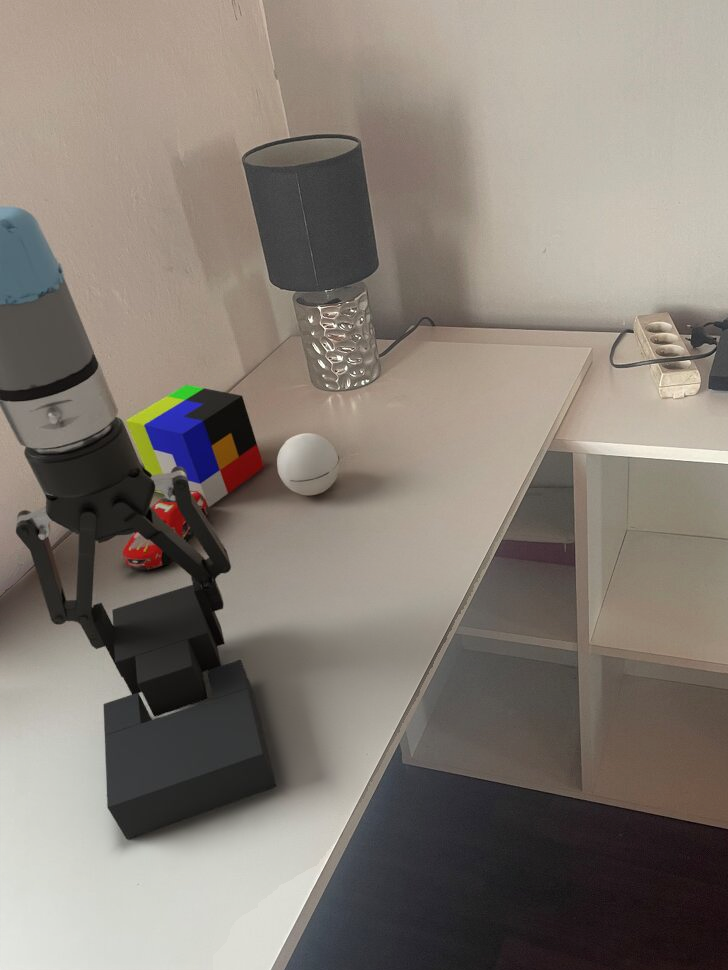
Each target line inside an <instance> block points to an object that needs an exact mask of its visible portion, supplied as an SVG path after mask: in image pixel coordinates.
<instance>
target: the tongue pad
mask: <svg viewBox="0 0 728 970" xmlns="http://www.w3.org/2000/svg"><path fill="white" fill-rule="evenodd" d="M111 612H112V624H113V628H114V650H115V663H116V665H117V667H118V669H119V671H120V673H121V674H122V676H123V677H122V679H123V680H124V682H125V684H126V687H127V688H128V690H129V692H130V693H131V694H130V695H132V694H136V693H139V694H140V693H141V694H142V695H143V698H144V699H145V701H146V703H147V705H148V707H149V709H150V711H151V713H152V715H153V717H154V718H155V717H158V716H161V715H165V714H168V713H170V712H173V711H177V710H179V709H182V708H185V707H188V706H191V705H195V704H196V703H200V702H202V701H206V700H208V693H207V688H206V683H205V677H204V673H203V672H208V670H210V669H213V668H216V667H219V666H222V662H221V658H220V653H219V648H218V647H219V646H217V645H216V643H215V640H214V638H213V636H212V633H211V631H210V628H209V626H208V624H207V621H206V619H205V616H204V615H203V612H202V610H201V607H200V605H199V603H198V600H197V598H196V595H195V593H194V589H193V584H190V585H186V586H184V587H180V588H177V589H173V590H171V591H167V592H164V593H161V594H157V595H155V596H152V597H147V598H144V599H142V600H139V601H138V600H137V601H135V602H132V603H129V604H125V605H123V606H119V607H116V608H113V609H112V611H111ZM116 665H115V666H116ZM117 667H116V668H117ZM118 669H117V670H118ZM119 671H118V672H119ZM120 673H119V674H120Z"/></svg>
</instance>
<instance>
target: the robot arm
mask: <svg viewBox="0 0 728 970" xmlns="http://www.w3.org/2000/svg"><path fill="white" fill-rule="evenodd" d="M64 275H65V274H64V270H63V267H62V264H61V263H60V262H59V261H58V259H57V257H56V256H55V254H54V252H53V250H52V248H51V246H50V245H49V242H48V240H47V238H46V236H45V234H44V231H43V230H42V228H41V226H40V223H39V221H38V220H37V218H35V216H34V215H33V214H32V213H30V212H28V211H27V210H26V209H23V208H21V207H16V206H0V409H1V411H2V413H3V415H4V417H5V419H6V422H7V423H8V425H9V427H10V429H11V431H12V432H13V435H14V437H15V439H16V441H17V442H18V443H19V444H20V446H23V447H25V448H24V451H23V453H24V457H25V459H26V460H27V463H28V464H29V466H30V469H31V471H32V473H33V474H34V477H35V478H36V480H37V483H38V485H39V486H40V488H41V491H42V492H43V494H44V496H45V505H44V506H43V507H40V508H38V509H36V510H34V511H30V510H26V509H24V510H20V511H19V512H18V513H17V517H16V525H15V534H16V535H17V537H18V538H19V539H20V540H21V541H22V543H23V544H24V545H25V547H26V548H27V549H28V550H29V551H30V555H31V558H32V562H33V565H34V568H35V571H36V574H37V578H38V581H39V585H40V587H41V591H42V594H43V597H44V601H45V604H46V607H47V611H48V614H49V618H50V621H51V622H52V623H53V624H54V625H58V626H60V625H65V623H66V622H76V623H78V624H79V625H80V626H81V628H82V630H83V633H84V634H85V636H86V638H87V639H88V642H89V644H90V645H91V647H93V648H94V649H95V650H99V649H101V648H106V651H107V652H108V654H109V656H110V658H111V660H112V662H113V664H114V666H115V667H116V670H117V671H118V673H119V675H120V677H121V678H123V676H122V674H121V673H120V671H119V669H118V667H117V665H116V663H115V650H114V628H113V621H112V620H111V618H110V616H109V615H108V612H107V610H106V609H105V606H104V604H103V603H102V602H99V603H95V604H93V593H94V592H93V591H94V590H93V589H94V573H95V556H96V542H98V544H102V543H104V542H107V541H111V540H112V539H113V538H116V537H117V536H127V535H128V536H129V535H131V534H132V535H133V534H134V533H135V532H138V533H139V534H141V535H142V536H143V537H144V538H145V539H147V540H150V541H152V542H153V543H154V544H155V545H156V546H157V547H159V548H160V549H161V550H162V551H163V552H164V553H166V554H167V555H168V556H169V557H170V558H171V559H172V560H171V561H174V562H175V563H176V564H177V565H178V566H179V568H182V569H183V570H184V571H185V572H186V573H187V574H188V575H189V576H190V577H191V578H190V579H191V582H192V584H191V585H193V589H194V593H195V595H196V598H197V600H198V603H199V605H200V607H201V610H202V612H203V615H204V616H205V619H206V621H207V624H208V626H209V628H210V631H211V633H212V636H213V638H214V640H215V643H216V645H217V647H220V646H222V645H225V644H226V643H225V638H224V634H223V630H222V626H221V623H220V620H219V618H218V616H217V613H216V612H217V611H220V610H223V609H224V600H223V596H222V593H221V591H220V588H219V585H218V582H217V577H218V576H219V575H221V574H227V573H229V572H230V571H231V569H232V566H231V565H232V564H231V561H230V556H229V554H228V551H227V549H226V547H225V545H224V544H223V542H222V541H221V538H220V537H219V536H218V534H217V533H216V531H215V529H214V528H213V526H212V525H211V523H210V521H209V520H208V518H207V517H206V516H207V515H204V513H203V512H202V510H201V508H200V507H199V505H198V504H197V502H196V500H195V499H194V497H193V496H192V494H191V492H190V489H189V483H188V479H187V474H186V471H185V469H184V468H183V467H180V466H177V467H174V468H173V469H172V471H171V473H166V474H158V475H152V474H151V473H150V472H149V471H147V470H146V469H145V467H144V465H143V464H142V463H141V461H140V459H139V456H138V454H137V452H136V450H135V447H134V444H133V443H132V440H131V438H130V435H129V433H128V430H127V428H126V425H125V423H124V421H123V419H121V417H119V416H118V413H119V409H118V406H117V404H116V401H115V399H114V396H113V394H112V392H111V389H110V387H109V384H108V382H107V381H108V380H107V379H106V376H105V374H104V372H103V369H102V366H101V364H100V362H99V361H98V359H97V357H96V355H95V351H94V349H93V346H92V344H91V341H90V338H89V336H88V334H87V331H86V329H85V326H84V324H83V321H82V319H81V316H80V314H79V312H78V309H77V306H76V304H75V302H74V299H73V297H72V295H71V291H70V289H69V287H68V284H67V282H66V279H65V276H64ZM155 491H160V492H162V493H163V494H162V493H161V494H162V495H164V497H166V498H167V499H168V500H170V501H175V500H176V503H177V506H178V509H179V511H180V513H181V514H182V516H183V517H184V519H185V521H186V522H187V524H188V525H189V527H190V528H191V530H192V531H193V533H192V534H193V535H194V537H195V538H196V540H197V541H198V542H199V544H200V546H201V547H202V549H203V550H204V552H205V553H206V555H207V558H205V557H204V556H203V555H202V554H201V553H200V552H198V551H197V550H196V548H194V547H193V546H192V545H190V543H188V542H187V540H186V541H185V540H184V539H183V538H182V537H180V536H179V535H178V534H177V533H176V532H175V531H174V530H173V529H172V528H170V527H169V526H168V525H167V524H166V523H165V522H164V521H163V520H162V519H160V518H159V516H158V515H157V513H156V512H155V511H154V510H153V509H152V508H151V507H152V506H151V504H152V501H153V498H154V495H155ZM52 522H54V523H56V524H58V525H59V526H61V527H63V528H65V529H67V530H68V531H71V532H72V533H75V534H76V535H77V537H78V538H77V539H78V541H77V542H78V543H77V563H76V564H77V567H76V589H75V590H76V593H75V599H67V596H66V593H65V590H64V587H63V584H62V579H61V577H60V573H59V570H58V565H57V562H56V559H55V555H54V552H53V548H52V545H51V541H50V539H49V538H50V535H51V523H52Z"/></svg>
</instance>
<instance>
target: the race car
mask: <svg viewBox="0 0 728 970" xmlns="http://www.w3.org/2000/svg"><path fill="white" fill-rule="evenodd" d="M190 492H191V494H192V496H193V497H194V499H195V500H196V502H197V504H198V505H199V507H200V508H201V510H202V512H203V513H204V515H205V516H208V513H209V511H210V507H208V504H207V502H206V499H205V498H204V497H203V496H202V495H201V493H199V492H197V491H190ZM150 507H151V508H152V509H153V510H154V511H155V512H156V513H157V515H158V516H159V518H160V519H162V520H163V521H164V522H165V523H166V524H167V525H168V526H169V527H170V528H172V529H173V530H174V531H175V532H176V533H177V534H178V535H179V536H180V537H182V538H183V539H184V540H185V541H186V542H187V540H188V539H189V538H190V537H191V535H192V534H194V533H193V531H192V530H191V528H190V527H189V525H188V524H187V522H186V521H185V519H184V517H183V516H182V514H181V513H180V511H179V509H178V506H177V503H176V500H175V501H170V500H168V499H167V498H166V497H165V496H164V497H162V498H161V499H159V500H158V501H156V502H155V503H154V504H153V505H152V506H150ZM122 557H123V560H124V562H125V564H126V566H128V567H129V568H130V569H132V570H136V571H146V570H152V569H157V568H159V567H162V566H168V565H170V564H171V562H172V561H173V560H172V559H171V558H170V557H169V556H168V555H167V554H166V553H164V552H163V551H162V550H161V549H160V548H159V547H157V546H156V545H155V544H154V543H153V542H152V541H150V540H147V539H145V538H144V537H143V536H142V535H141V534H139V533H138V532H135V533H133V534H132V536H131V537H130V539H128V542H127V543H126V545H124V547H123V549H122Z"/></svg>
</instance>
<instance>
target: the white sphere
mask: <svg viewBox="0 0 728 970" xmlns="http://www.w3.org/2000/svg"><path fill="white" fill-rule="evenodd" d="M361 454H362V452H359V453H356V454H351V455H348V456H345V457H341V458H340V457H339V455H338V452H337V450H336V448H335V447H334V446H333V445H332V443H330V441H328V440H327V438H325V437H323V436H321V435H319V434H316V433H313V432H312V433H311V432H305V433H299V434H296V435H293V436H292V437H290V438H288V439H287V440H285V442H284V444H283V445H282V446H281V448H280V449H279V451H278V454H277V458H276V467H277V473H278V475H279V477H280V479H281V481H282V482H283V483H282V484H284V485H285V487H287V488H288V489H289V490H290V491H292V492H294V493H296V494H298V495H301V496H315V495H320V494H322V493H325V491H327V490H329V488H331V487H332V485H333V484H334V483H335V481H336V480H337V477H338V475H339V471H340V460H342V459H347V458H349V457H353V456H358V455H361Z"/></svg>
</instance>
